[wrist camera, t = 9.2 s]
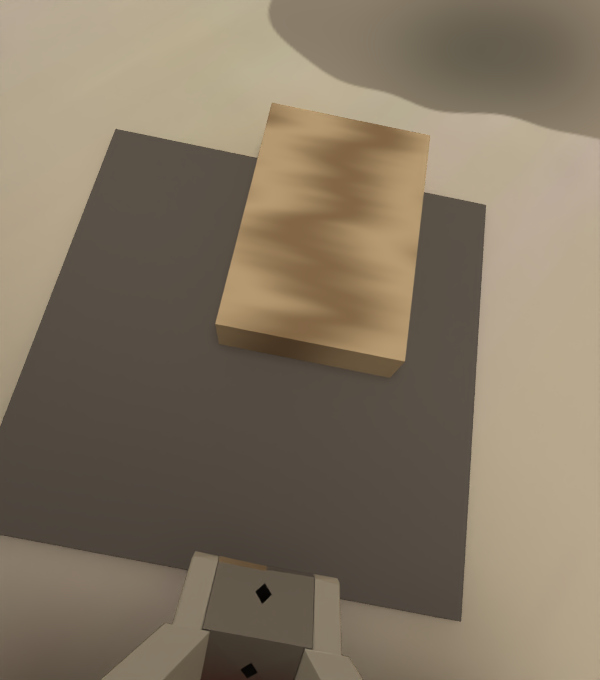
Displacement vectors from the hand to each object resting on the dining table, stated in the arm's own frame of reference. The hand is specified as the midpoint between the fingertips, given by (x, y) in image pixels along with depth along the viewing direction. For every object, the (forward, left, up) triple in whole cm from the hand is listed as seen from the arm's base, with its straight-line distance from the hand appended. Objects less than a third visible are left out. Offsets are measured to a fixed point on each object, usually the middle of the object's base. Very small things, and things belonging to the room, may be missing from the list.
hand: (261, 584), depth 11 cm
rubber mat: (-2, +9, -11) cm, 14 cm away
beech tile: (0, +8, -10) cm, 13 cm away
